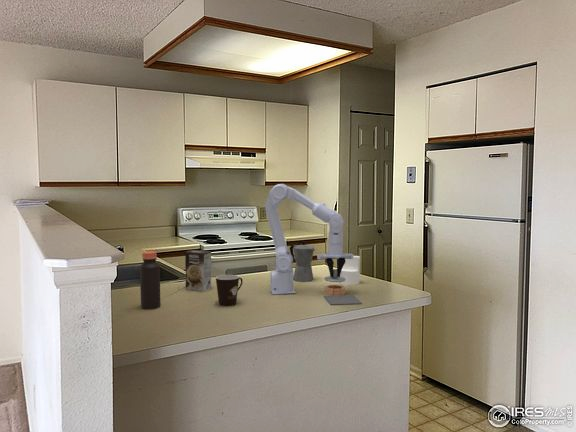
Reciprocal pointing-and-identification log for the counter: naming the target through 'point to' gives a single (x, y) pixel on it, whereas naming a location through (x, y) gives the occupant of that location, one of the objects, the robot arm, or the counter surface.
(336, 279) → the lid
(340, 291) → the bowl
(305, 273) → the coffeepot
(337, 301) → the mat
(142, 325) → the counter surface
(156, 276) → the bottle
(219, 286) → the coffee mug
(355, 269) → the cylinder with rectangular tab
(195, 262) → the coffee box
